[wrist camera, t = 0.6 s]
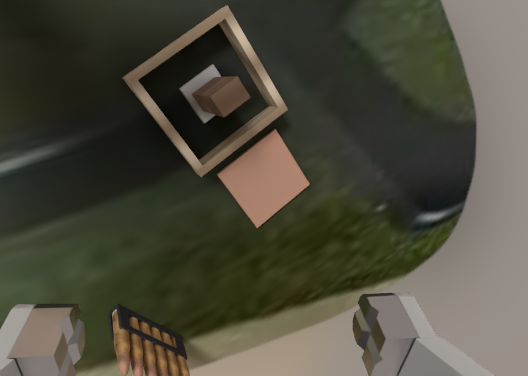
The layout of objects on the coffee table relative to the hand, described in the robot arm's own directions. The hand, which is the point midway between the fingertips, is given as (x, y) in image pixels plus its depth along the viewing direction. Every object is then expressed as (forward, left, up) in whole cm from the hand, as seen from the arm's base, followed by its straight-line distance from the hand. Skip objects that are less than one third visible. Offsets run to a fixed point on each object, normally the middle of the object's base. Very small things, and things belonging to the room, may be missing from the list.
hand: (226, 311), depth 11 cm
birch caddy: (+1, +11, -38) cm, 39 cm away
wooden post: (+1, +11, -38) cm, 39 cm away
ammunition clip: (+21, -14, -38) cm, 46 cm away
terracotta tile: (+15, +11, -38) cm, 42 cm away
